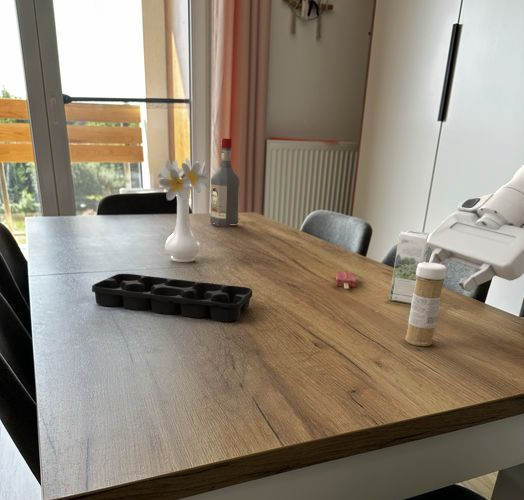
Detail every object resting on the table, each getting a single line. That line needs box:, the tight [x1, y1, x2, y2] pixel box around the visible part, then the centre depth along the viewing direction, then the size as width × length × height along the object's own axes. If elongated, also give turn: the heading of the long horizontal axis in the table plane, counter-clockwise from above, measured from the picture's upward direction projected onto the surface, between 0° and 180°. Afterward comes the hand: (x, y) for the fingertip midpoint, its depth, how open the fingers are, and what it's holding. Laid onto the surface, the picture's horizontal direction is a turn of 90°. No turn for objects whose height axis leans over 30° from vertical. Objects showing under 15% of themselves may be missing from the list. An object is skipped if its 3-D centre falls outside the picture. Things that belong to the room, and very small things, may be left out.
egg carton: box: [91, 273, 253, 323], centre depth 98 cm, size 18×30×4 cm, turn 89°
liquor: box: [209, 137, 241, 228], centre depth 187 cm, size 9×9×30 cm
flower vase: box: [157, 157, 211, 263], centre depth 130 cm, size 13×18×25 cm
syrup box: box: [388, 229, 431, 305], centre depth 109 cm, size 6×6×14 cm
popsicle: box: [335, 270, 357, 290], centre depth 121 cm, size 4×2×15 cm
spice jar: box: [404, 261, 448, 347], centre depth 85 cm, size 5×5×13 cm
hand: (444, 280), depth 85 cm, fingers open, 8 cm apart
